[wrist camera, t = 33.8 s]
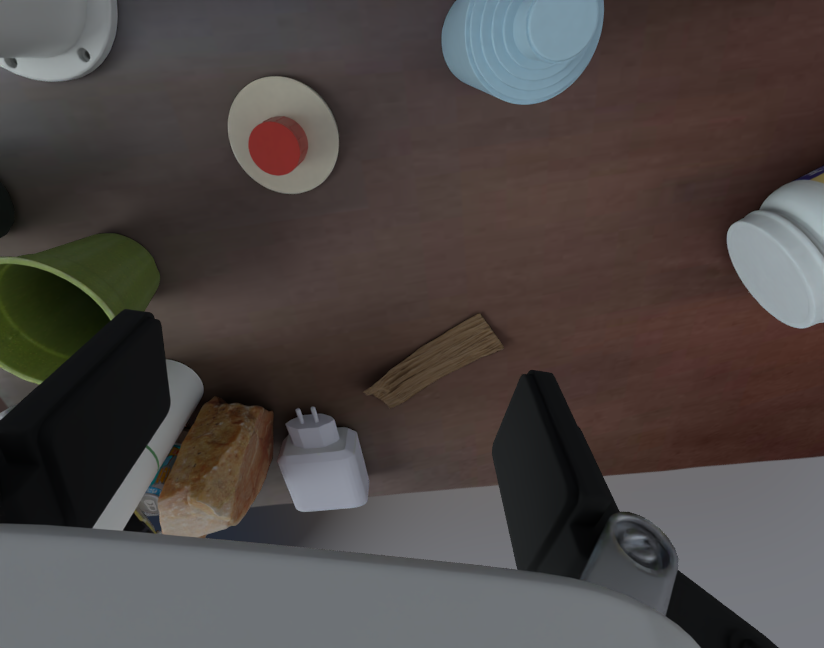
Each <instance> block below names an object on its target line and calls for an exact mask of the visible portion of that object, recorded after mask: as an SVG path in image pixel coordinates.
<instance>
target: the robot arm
mask: <svg viewBox="0 0 824 648" xmlns="http://www.w3.org/2000/svg"><path fill="white" fill-rule="evenodd" d="M117 21H118V10H117V0H0V66H1V67H3V68H5V69H7V70H9V71H11V72H13V73H15V74H17V75H20V76H24V77H27V78H30V79H33V80H40V81H47V82H59V81H69V80H74V79H79V78H81V77H83V76H85V75H87V74H89V73H91V72H93V71H94V70H95V69H96V68H97V67H98V66H100V65H101V64H102V63H103V62H104V60H105V58H106V57H107V55H108V54H109V52H110V51H111V48H112V45H113V42H114V39H115V36H116V30H117ZM88 53H89V54H90V57H89V55H88ZM170 404H171V399H170V391H169V383H168V375H167V367H166V359H165V351H164V343H163V334H162V326H161V322H160V321H159V320H157V319H154V316H153V314H152V313H150V312H143V311H137V310H130V309H124V310H122V311H121V312H120V313H119V314H118V315H116V316H115V317H114V318H113V319H112V320H111V321H110V322H109V323H108V324H106V325H105V326H104V327H103V328H102V329H101V330H100V331H99V332H98V333H96V334H95V335H94V336H93V337H92V338H91V339H90V340H89V341H88V342H86V343H85V344H84V345H83V346H82V347H81V348H80V349H79V350H78V351H76V352H75V353H74V354H73V355H72V356H71V357H70V358H69V359H68V360H66V361H65V362H64V363H63V364H62V365H61V366H60V367H59V368H58V369H56V370H55V371H54V372H53V373H52V374H51V375H50V376H49V377H48V378H46V379H45V380H44V381H43V382H42V383H41V384H40V385H39V386H38V387H36V388H35V389H34V390H33V391H32V392H31V393H30V394H29V395H28V396H26V397H25V398H24V399H23V400H22V401H21V402H20V403H19V404H18V405H16V406H15V407H14V408H13V409H12V410H11V411H10V412H9V413H8V414H6V415H5V416H4V417H3V418H2V419H1V420H0V648H778V647H777V646H776V645H775V644H773V643H772V642H771V641H770V640H769V639H768V638H767V637H766V636H764V635H763V634H762V633H760V632H759V631H758V630H756V629H755V628H754V627H753V626H751V625H750V624H749V623H747V622H746V621H744V620H743V619H742V618H741V617H739V616H738V615H736V614H735V613H734V612H733V611H731V610H730V609H729V608H727V607H726V606H724V605H723V604H722V603H721V602H719V601H718V600H717V599H716V598H714V597H713V596H712V595H710V594H709V593H707V592H706V591H705V590H704V589H702V588H701V587H700V586H698V585H697V584H696V583H694V582H693V581H692V580H690V579H689V578H688V577H686V576H685V575H684V574H683V573H681V572H680V571H679V570H678V556H677V553H676V550H675V548H674V546H673V545H672V543H671V542H670V540H669V538H668V537H667V536H666V535H665V534H664V533H663V532H662V531H661V529H660V528H658V527H657V526H656V525H654V524H653V523H652V522H651V521H649V520H647V519H645V518H644V517H642V516H640V515H637V514H634V513H630V512H619V510H618V507H617V505H616V503H615V501H614V499H613V497H612V495H611V493H610V490H609V488H608V486H607V484H606V482H605V480H604V478H603V476H602V473H601V471H600V469H599V467H598V465H597V463H596V461H595V459H594V456H593V454H592V452H591V450H590V448H589V446H588V444H587V442H586V440H585V437H584V435H583V433H582V431H581V430H580V428H579V427H578V426H577V424H576V422H575V420H574V417H573V415H572V413H571V411H570V409H569V407H568V405H567V402H566V400H565V398H564V396H563V394H562V392H561V390H560V387H559V385H558V383H557V381H556V379H555V377H554V375H553V374H552V373H549V372H542V371H536V370H530V371H529V372H528V374H527V375H526V374H523V375H522V376H521V377H520V379H519V382H518V384H517V387H516V389H515V391H514V394H513V396H512V399H511V401H510V404H509V406H508V409H507V411H506V413H505V416H504V418H503V421H502V423H501V426H500V428H499V431H498V433H497V435H496V438H495V440H494V443H493V447H492V456H493V461H494V465H495V470H496V474H497V479H498V484H499V488H500V493H501V497H502V502H503V506H504V511H505V515H506V520H507V524H508V529H509V534H510V538H511V542H512V547H513V552H514V557H515V561H516V566H517V570H515V569H507V568H497V567H490V566H482V565H473V564H463V563H453V562H442V561H433V560H424V559H414V558H404V557H394V556H385V555H375V554H365V553H354V552H344V551H334V550H323V549H314V548H302V547H293V546H282V545H272V544H261V543H251V542H240V541H230V540H219V539H208V538H197V537H186V536H175V535H164V534H153V533H142V532H131V531H120V530H106V529H93V526H94V525H95V523H96V522H97V520H98V519H99V517H100V516H101V514H102V513H103V511H104V510H105V508H106V507H107V505H108V504H109V502H110V501H111V499H112V498H113V496H114V495H115V493H116V492H117V490H118V489H119V487H120V486H121V484H122V483H123V481H124V480H125V478H126V477H127V475H128V473H129V472H130V470H131V469H132V467H133V466H134V464H135V463H136V461H137V460H138V458H139V457H140V455H141V454H142V452H143V451H144V449H145V448H146V446H147V445H148V443H149V442H150V440H151V439H152V437H153V436H154V434H155V433H156V431H157V430H158V428H159V427H160V425H161V424H162V422H163V421H164V419H165V418H166V416H167V414H168V412H169V409H170Z"/></svg>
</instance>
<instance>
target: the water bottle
mask: <svg viewBox="0 0 824 648" xmlns="http://www.w3.org/2000/svg"><path fill="white" fill-rule="evenodd" d="M603 16H604V0H456V1H455V3H454V4H453V5H452V7H451V8H450V10H449V12H448V14H447V16H446V19H445V21H444V25H443V29H442V41H441V42H442V51H443V55H444V59H445V61H446V63H447V66H448V67H449V69H450V71H451V72H452V73H453V74H454V75H455V76H456V77H457V78H458V79H459V80H461V81H462V82H464V83H466V84H468V85H470V86H472V87H475V88H477V89H479V90H481V91H483V92H486V93H488V94H490V95H492V96H494V97H497V98H499V99H501V100H503V101H506V102H509V103H513V104H520V105H529V104H535V103H540V102H543V101H546V100H548V99H551V98H553V97H555V96H556V95H558V94H560V93H561V92H563V91H564V90H565V89H567V88H568V87H569V86H570V85H571V84H572V83H573V82H574V81H575V80H576V79H577V78H578V77H579V76H580V75H581V73H582V72H583V71H584V69H585V68H586V66H587V65H588V63H589V62H590V60H591V58H592V56H593V54H594V52H595V49H596V47H597V44H598V42H599V38H600V35H601V30H602V25H603Z"/></svg>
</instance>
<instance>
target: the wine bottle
mask: <svg viewBox="0 0 824 648" xmlns="http://www.w3.org/2000/svg"><path fill="white" fill-rule="evenodd" d="M13 223H14V206H13V203H12V201H11V198H10V196H9V193H8V191H7V190H6V189H5V187H4V186H3V185H2V183H1V182H0V238H1V237H3V236H4V235H6V234H7V233H8V232H9V230H10V228H11V226H12V225H13Z"/></svg>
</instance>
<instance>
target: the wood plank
mask: <svg viewBox="0 0 824 648" xmlns="http://www.w3.org/2000/svg"><path fill="white" fill-rule="evenodd" d="M503 348H504V347H503V346H502V344H501V342H500V341H499V339H498V338H497V337H496V335H495V334H494V333H493V331H492V330H491V328H490V326H489V325H488V324H487V323H486V321H485V320H484V318H483V317H482V316H481V314H480V313H478V314H477V315H475V316H473V317H471V318H470V319H468V320H466V321H464V322H462V323H461V324H459V325H457V326H456V327H454V328H453V329H451V330H449V331H447V332H446V333H444V334H443V335H441V336H440V337H438V338H436V339H435V340H433V341H431V342H429V343H428V344H426V345H424V346H423V347H421V348H419V349H418V350H417V351H416V352H415V353H413V354H412V355H411V356H409V357H408V358H406V359H405V360H404V361H402V362H401V363H399V364H398V365H396V366H395V367H394V368H392V369H391V370H389V371H388V372H387V373H386V375H385V376H383V377H382V378H381V379H380V380H379V381H377V382H376V383H375V384H374V385H373V386H372V387H370V388H368V389H367V390H365V391H363V392H364V393H365V394H366V395H371V394H373V395H374V396H376V397H377V398H379V399H380V400H382V401H383V402H384V403H385V404H386V405H387V406H388V407H389V408H393V407H395V406H397V405H399V404H402V403H403V402H405V401H407V400H408V399H409V398H411V397H412V396H413V395H415V394H416V393H418V392H419V391H421V390H422V389H424V388H425V387H427V386H428V385H429V384H431V383H433V382H434V381H436V380H438V379H440V378H442V377H443V376H445V375H447V374H449V373H451V372H453V371H455V370H457V369H459V368H461V367H463V366H465V365H467V364H469V363H471V362H473V361H475V360H477V359H479V358H481V357H483V356H488V355H490V354H493V353H495V352H498V351H499V350H502V349H503Z"/></svg>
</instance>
